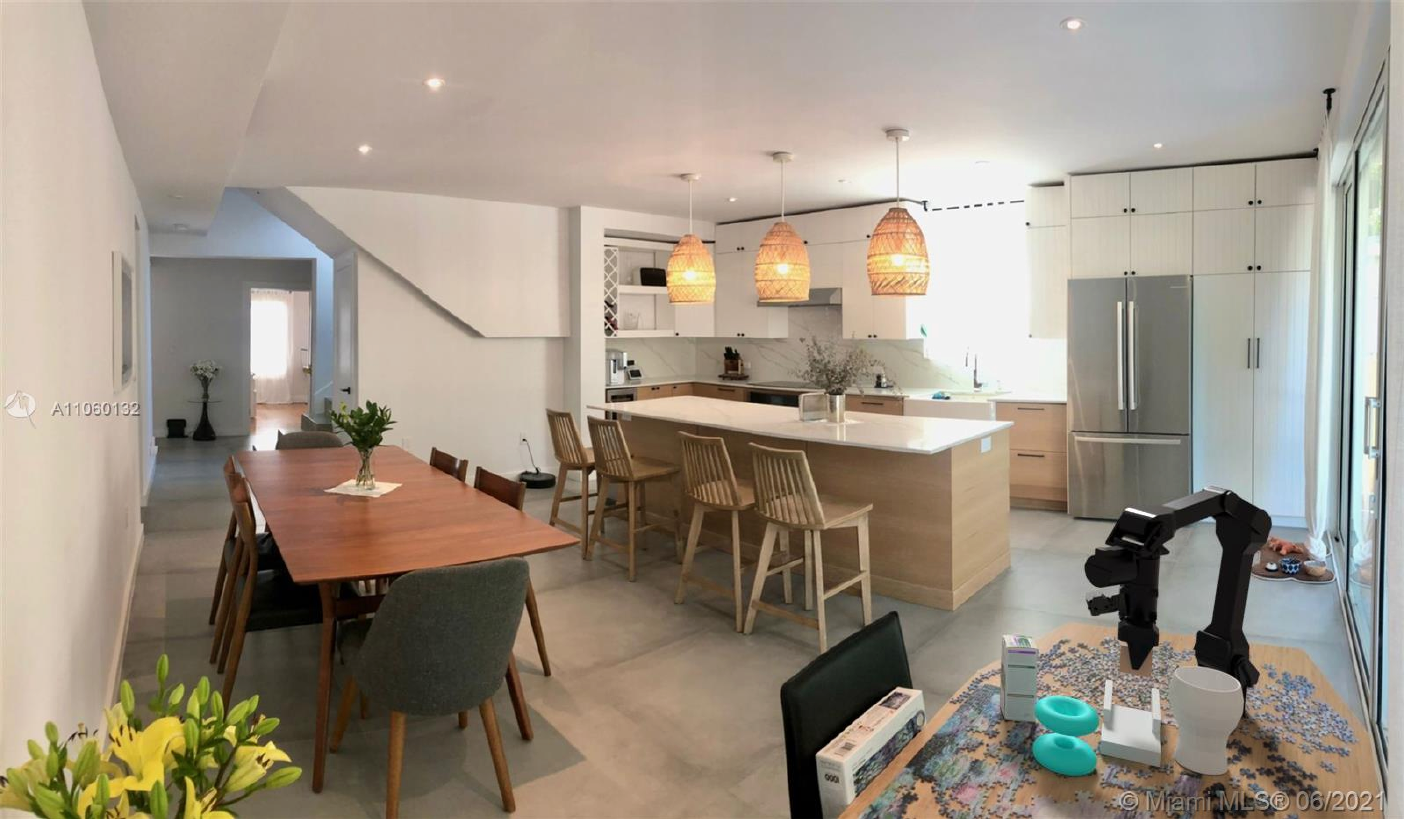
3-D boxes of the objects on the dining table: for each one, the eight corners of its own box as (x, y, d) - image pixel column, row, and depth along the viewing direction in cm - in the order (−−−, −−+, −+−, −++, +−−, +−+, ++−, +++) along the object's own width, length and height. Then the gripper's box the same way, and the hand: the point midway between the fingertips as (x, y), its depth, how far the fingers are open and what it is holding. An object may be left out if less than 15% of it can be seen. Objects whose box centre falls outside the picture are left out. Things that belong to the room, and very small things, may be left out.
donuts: (1066, 726, 130) (1021, 698, 139) (1063, 784, 131) (1019, 753, 141) (1113, 715, 134) (1067, 688, 143) (1110, 772, 135) (1064, 742, 144)
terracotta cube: (1150, 666, 147) (1152, 640, 147) (1151, 677, 143) (1152, 650, 142) (1119, 661, 150) (1121, 635, 149) (1119, 671, 145) (1120, 645, 145)
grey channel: (1157, 714, 154) (1159, 689, 153) (1159, 767, 136) (1161, 739, 136) (1104, 703, 158) (1105, 679, 157) (1100, 753, 140) (1101, 726, 140)
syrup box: (1036, 723, 151) (1040, 648, 149) (1002, 720, 152) (1006, 645, 150) (1030, 708, 156) (1034, 636, 154) (998, 705, 157) (1001, 633, 156)
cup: (1238, 788, 130) (1246, 699, 128) (1162, 768, 136) (1168, 683, 134) (1237, 757, 139) (1244, 673, 137) (1165, 739, 145) (1171, 659, 143)
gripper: (1092, 559, 156) (1088, 636, 158) (1087, 589, 140) (1082, 675, 142) (1158, 567, 151) (1153, 647, 153) (1161, 599, 134) (1156, 689, 136)
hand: (1135, 663), depth 146 cm, fingers closed on terracotta cube, 5 cm apart
